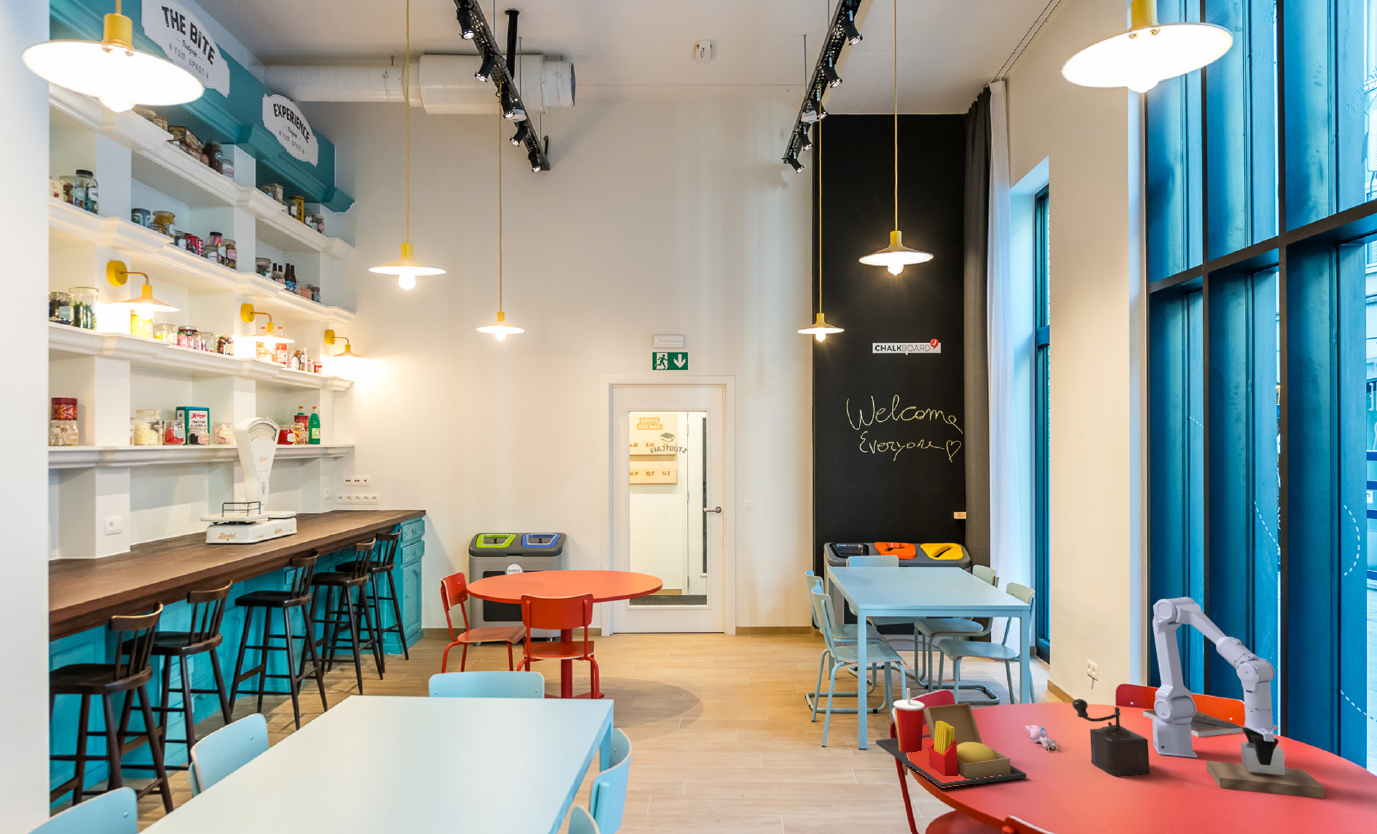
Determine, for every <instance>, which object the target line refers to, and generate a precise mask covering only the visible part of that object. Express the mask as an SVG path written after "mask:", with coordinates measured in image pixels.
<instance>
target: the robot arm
mask: <svg viewBox="0 0 1377 834" xmlns="http://www.w3.org/2000/svg"><path fill="white" fill-rule="evenodd" d="M1152 607H1153V614H1154V615H1153V619H1152V628H1153V629H1152V630H1153V634H1154V643H1155V649H1156V650H1155V651H1156V655H1157V656H1156V657H1157V663H1158V669H1159V676H1160V684H1161V685H1160V687H1159V688H1158V689H1157V690H1156V691H1155V693H1154V694H1155V695H1154V696H1155V700H1154V704H1153V706H1154V707H1153V708H1154V709H1153V710H1155V712H1156V714H1157V715H1158V716H1159V718H1160V719H1152V738H1153V740H1152V741H1153V747H1154V750H1156V752H1157V754H1159V755H1161V756H1162V755H1163V756H1174V757H1185V758H1196V759H1197V758H1198V755H1197V754H1196V753H1195V751H1194V750H1193V739H1192V738H1193V737H1192V736H1193V735H1192V734H1191V721H1192V717H1193V716H1194V715H1195V714H1196V711H1197V705H1196V703H1195V701H1194V698H1193V697H1192V692H1191V691H1190V690H1189V689H1188V688H1186V686H1185V685H1184V681H1183V679H1184V678H1183V673H1182V672H1183V671H1182V666H1181V659H1180V653H1179V647H1178V646H1179V645H1178V639H1177V638H1178V637H1177V634H1176V633H1177V632H1176V631H1177V630H1178V628H1179V627H1180V626H1181V625H1190V626H1193V628H1195V629H1196V630H1198V631H1199V632H1200V633H1202V634H1203V635H1204V636H1205V637H1206V638H1207V639H1208V640H1210V641H1211V642H1212V643H1213V644H1215V645H1216V647H1215V648H1216V652H1217V653H1218V654H1219V655H1220V656H1221V657H1223V658H1224V660H1226V661H1227V662H1228V663H1229V664H1230V665H1231V666H1232V667H1233V668H1234V669H1235V670H1236V674H1237V677H1238V678H1239V679H1240V681H1241V687H1242V689H1243V701H1244V702H1243V703H1244V718H1245V721H1244V727H1243V726H1242V727H1243V728H1242V730H1243V733H1244V735H1245V736H1246V739H1247V742H1248V743H1254V744H1255V747H1256V751H1257V755H1258V760H1259V762H1260V764H1261V765H1270V764H1271V760H1272V755H1273V752H1274V749H1275V747H1276V745H1278V744H1279V739H1278V738H1275V732H1274V730H1275V731H1276V730H1277V731H1278V730H1279V725H1277V724H1273V710H1272V708H1273V707H1272V691H1271V681H1273V679H1274V678H1275V677H1276V676H1275V675H1276V671H1275V669H1274V666H1273V665H1272V664H1271V663H1270V661H1269V660H1267V659H1265V658H1263V657H1262V658H1261V657H1259V656H1257V655H1256V654H1255V653H1252V651H1250V650H1249V649H1248V648H1247V647H1246V646H1245V645H1243V644H1242V641H1241V640H1240V639H1239V638H1235V637H1234V636H1227V635H1226V634H1224V632H1223V631H1222V630H1221V629H1220V628H1219V627H1218V626H1217V625H1216V624H1215V623H1214V622H1213V621H1212V620H1211V619H1210V618H1209V617H1208V616H1207V615H1206V614H1205V613H1204V612H1203V611H1202V608H1201V605H1200V604H1198V603H1197V602H1195V600H1194V599H1193V598H1192V597H1188V596H1184V597H1177V598H1176V597H1175V598H1162V599H1159V600H1158V601H1156V603H1154V605H1153V606H1152Z"/></svg>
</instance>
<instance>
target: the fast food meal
mask: <svg viewBox="0 0 1377 834" xmlns="http://www.w3.org/2000/svg"><path fill="white" fill-rule="evenodd" d="M893 707H894V712H895V721H896V730H897V737H892V738H885V739H877V740H875V744H876V745H877V746H878V747H880V748H882V749H883V750H884V751H886V752H887V753H888V754H890V755H892V756H893V757H895V758H896V759H898V760H899V761H900V762H902V763H903V764H905V766H907V767H909V768H910V767H912V768H911V769H912V770H913V769H915V770H914V771H915V772H916V770H917V771H919V772H920V773H922V774H923V775H925V776H927V778H928V779H930V780H931V781H933V782H935V783H936V784H938V785H939V786H940V787H947V786H953V785H961V784H962V785H963V784H964V785H965V784H974V785H979V784H980V783H981V784H987V783H986V782H989V783H995V782H1003V781H1010V779H1011V780H1018V779H1024V778H1025V779H1026V778H1027V773H1026V772H1025V771H1022V770H1020V769H1018V768H1017V767H1014V765H1011V758H1010V757H1008V756H1006V755H1004V754H1002V753H1001V752H999V751H997V750H995V749H994V748H992V747H990V746H988V745H986V744H985V743H983V741H982V738H981V734H980V731H979V729H978V725H977V722H976V719H975V717H974V713H973V710H972V707H971V703H970V702H962V703H955V704H954V703H953V704H945V705H943V704H942V705H935V706H934V705H933V706H927V707H925V704H924V703H923V702H921V701H919V700H915V699H911V688H909V687H908V688H906V699H898V700H896V701H894V702H893ZM924 718H925V722H926V725H927V728H928V732H929V733H928V734H923V731H924V730H923V727H924ZM925 737H931V739H932V743H931V744H930V745H929V746H928V751H929V766H930V767H931V768H932V769H935V770H936V771H938V772H939V773H940V774H942V775H943V776H958V774H960V775H961V776H963V777H964V778H965V779H970V780H963V781H955V782H948V783H941V782H940V781H938V780H937V779H935V778H934V777H932V776H931V775H930V774H928V773H927V772H925V771H924V770H922V769H921V768H919V767H918V766H916V765H915V764H914V763H912V762H911V761H909V760H908V758H907V757H906V752H907V753H908V752H911V753H912V752H917V751H921V750H922V738H925ZM999 775H1001V776H999ZM990 776H993V777H990ZM984 777H986V778H984ZM976 778H978V779H976ZM928 779H927V780H928Z"/></svg>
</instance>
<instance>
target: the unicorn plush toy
mask: <svg viewBox="0 0 1377 834" xmlns="http://www.w3.org/2000/svg"><path fill="white" fill-rule="evenodd" d="M1025 728H1026V730H1027V731H1028V733H1030V738H1031V740H1033V741H1034V743H1038V742H1041V743H1040V744H1041V745H1042V748H1043V747H1044V748H1046V749H1048V750H1049V751H1051V749H1049V748H1053V749H1054V748H1055V749H1054V750H1056V751H1059V748H1058V746H1057V744H1056V742H1057V740H1056V739H1052V738H1049V736H1048V734H1047V731H1046V729H1045V727H1044V726H1041V727H1040V726H1039V725H1036V724H1033V725H1027V724H1026V725H1025ZM1044 748H1043V749H1044Z"/></svg>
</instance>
